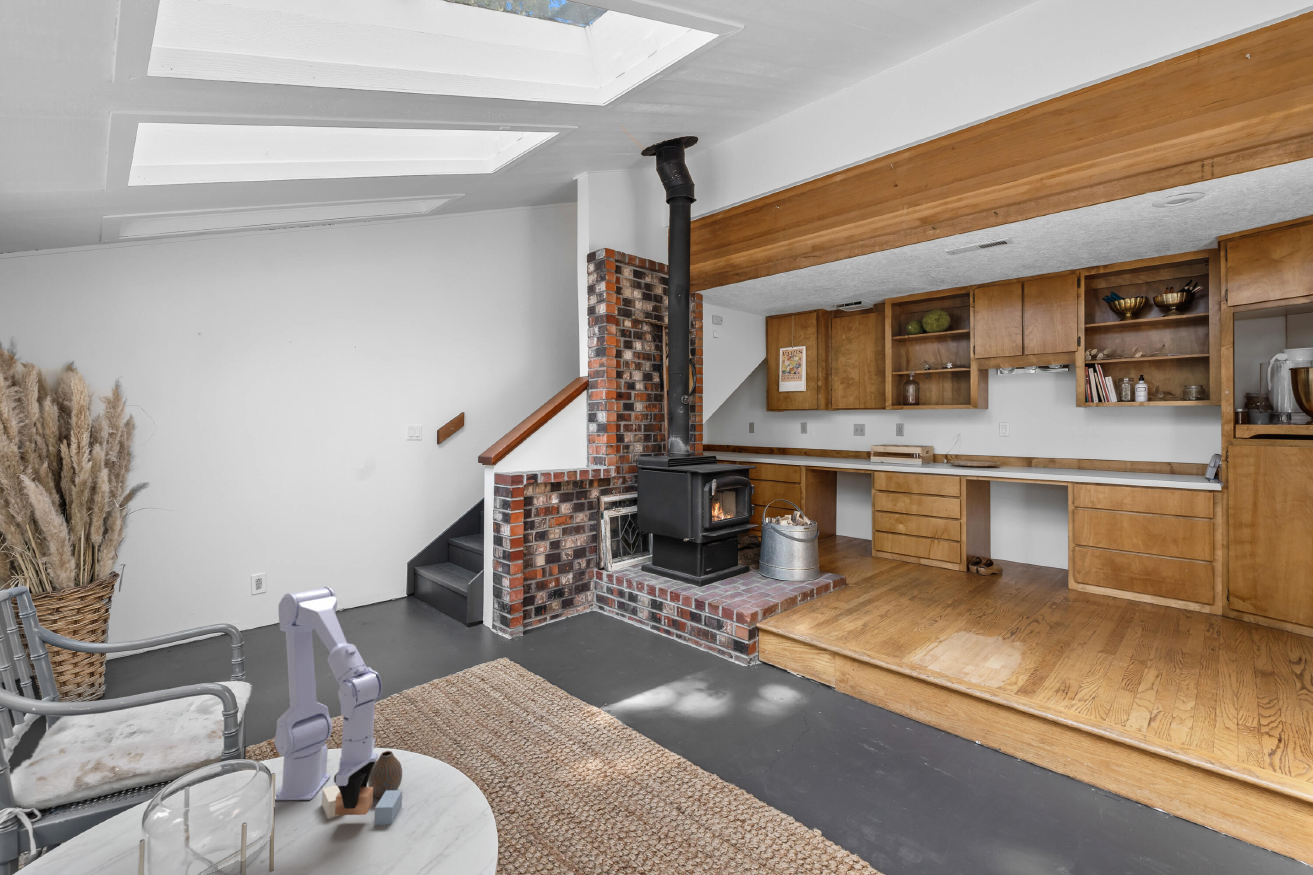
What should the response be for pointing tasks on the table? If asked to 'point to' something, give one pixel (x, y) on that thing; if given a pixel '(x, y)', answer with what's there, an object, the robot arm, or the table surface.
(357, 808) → the terracotta brick
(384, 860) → the table surface
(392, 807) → the slate brick
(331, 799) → the cream brick
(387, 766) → the vase
